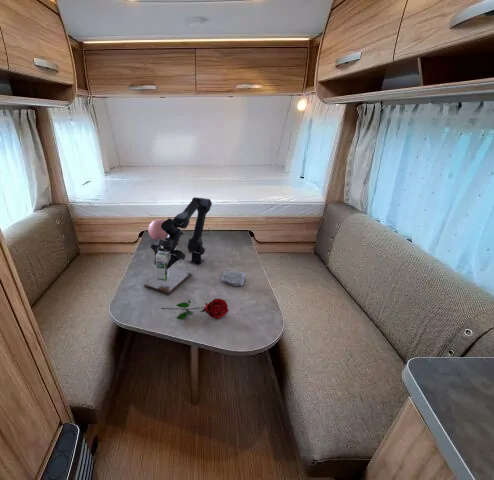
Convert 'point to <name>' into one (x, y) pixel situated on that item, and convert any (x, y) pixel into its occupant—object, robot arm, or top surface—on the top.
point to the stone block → (233, 278)
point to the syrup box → (162, 266)
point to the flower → (207, 308)
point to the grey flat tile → (168, 281)
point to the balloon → (157, 230)
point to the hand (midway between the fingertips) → (160, 266)
